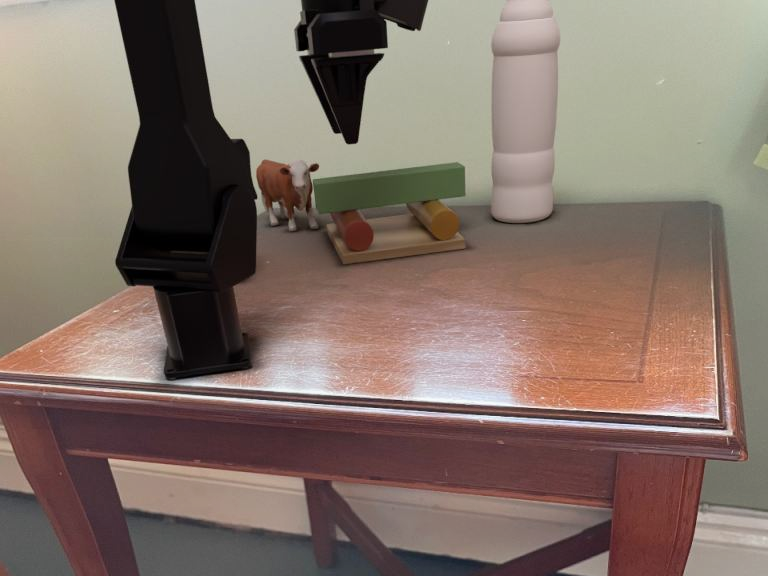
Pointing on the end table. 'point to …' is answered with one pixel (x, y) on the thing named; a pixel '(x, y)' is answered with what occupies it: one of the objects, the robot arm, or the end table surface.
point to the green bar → (389, 187)
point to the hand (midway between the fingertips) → (345, 138)
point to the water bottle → (524, 111)
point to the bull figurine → (286, 189)
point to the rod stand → (395, 233)
